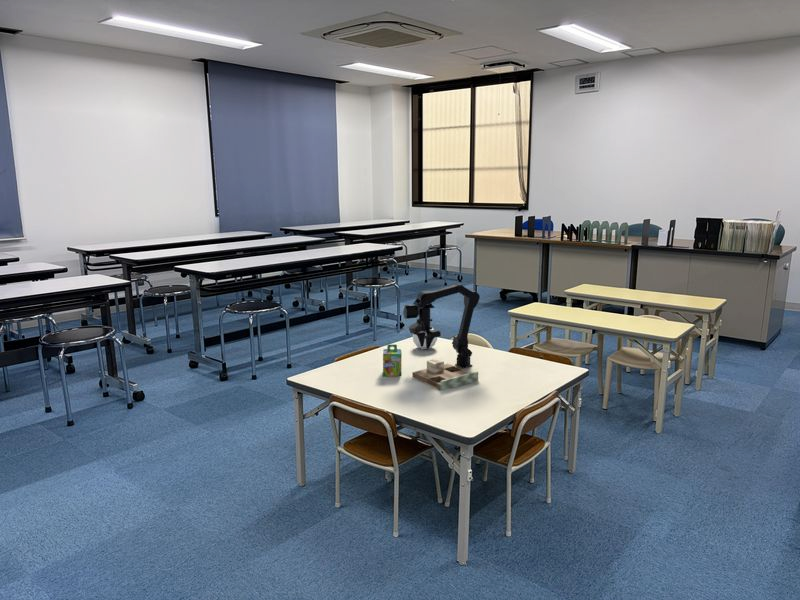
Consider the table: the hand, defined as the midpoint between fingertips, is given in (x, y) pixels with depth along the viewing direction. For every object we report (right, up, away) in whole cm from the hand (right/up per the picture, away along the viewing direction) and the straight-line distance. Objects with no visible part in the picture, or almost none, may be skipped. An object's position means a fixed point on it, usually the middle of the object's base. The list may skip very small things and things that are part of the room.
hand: (424, 347), depth 286 cm
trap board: (+9, -14, -10) cm, 20 cm away
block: (+5, -11, -5) cm, 13 cm away
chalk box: (-16, -13, -2) cm, 21 cm away
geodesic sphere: (+2, -4, +40) cm, 40 cm away
